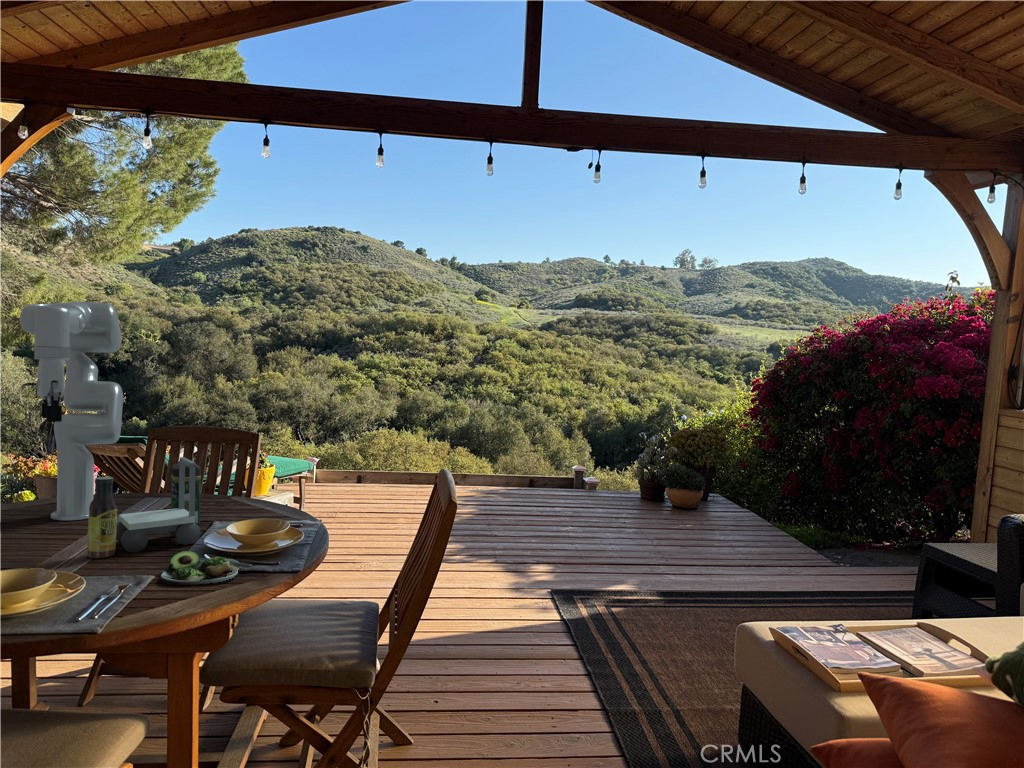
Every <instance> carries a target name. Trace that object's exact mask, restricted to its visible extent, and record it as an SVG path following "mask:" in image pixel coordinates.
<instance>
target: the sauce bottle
mask: <svg viewBox="0 0 1024 768" xmlns="http://www.w3.org/2000/svg"><path fill="white" fill-rule="evenodd" d="M94 478H95V477H94ZM94 485H95V489H94V490H95V492H94V495H95V496H94V497H93V501H92V502H91V504H90V507H89V518H87V519H88V522H87V523H88V524H87V526H88V528H87V546H86V547H87V548H86V550H87V557H88V558H91V559H103V558H109V557H110V558H111V557H112V556H115V553H116V548H117V540H116V530H117V523H118V507H117V505H116V502H115V499H114V496H113V495H114V494H113V486H114V477H113V476H100V477H96V478H95V479H94Z"/></svg>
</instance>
